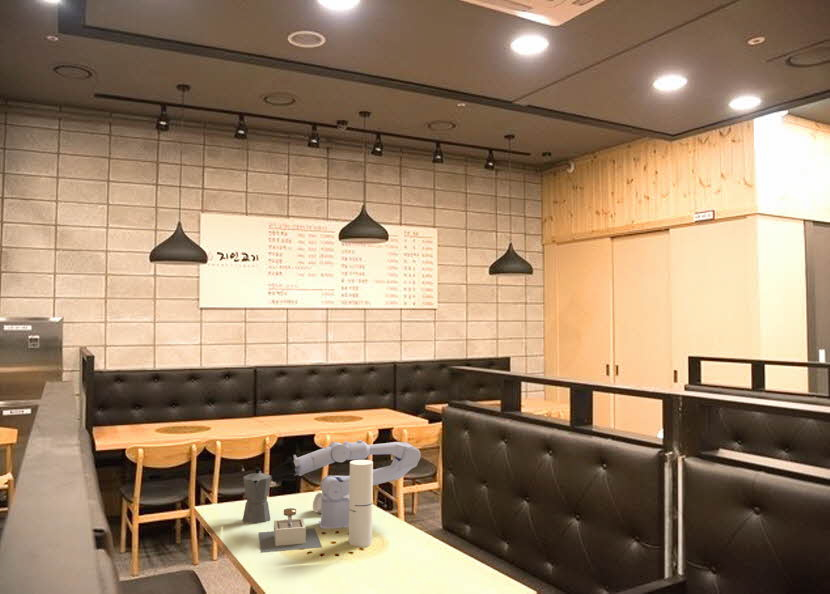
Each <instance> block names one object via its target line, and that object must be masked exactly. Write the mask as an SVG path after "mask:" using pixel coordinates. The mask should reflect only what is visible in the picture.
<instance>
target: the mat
mask: <svg viewBox="0 0 830 594" xmlns="http://www.w3.org/2000/svg"><path fill="white" fill-rule="evenodd" d="M258 539H259V540H258V541H259V546H260V547H259V549H260V554H261V553H270V552H272V553H273V552H283V551H295V550H298V551H299V550H307V549H318V548H323V545H322V543H321V540H320V538H319V536H318V533H317V530H316V528H315V527H312V528H306V543H304V544H292V545H280V546H275V540H274V530H273V531H259V532H258Z"/></svg>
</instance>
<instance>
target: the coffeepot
mask: <svg viewBox="0 0 830 594" xmlns="http://www.w3.org/2000/svg"><path fill="white" fill-rule="evenodd" d="M254 470H255V473H249V474H247V475H246V474H245V476H243V479H242V480H243V486H244V492H245V497H246V502H245V505H244V511H243V516H242V522H243V524H262V523H266V522H269V521H271V514H270V508H269V502H268V496H269V493H270V488H271V482H272V477H271V476H272V475H270V474H268V473H263V472H262V470H261V468H260V467H256V468H255V469H254Z"/></svg>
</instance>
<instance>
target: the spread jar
mask: <svg viewBox="0 0 830 594" xmlns="http://www.w3.org/2000/svg"><path fill="white" fill-rule="evenodd" d="M323 493H324V492H323V491H322V490H321V492H318V493H317V494H316V495H315V497H314V498H313V501H312V510H313V512H314V513H317V514H320V513H321V497H322V496H323ZM343 498H349V495H346V496H343Z"/></svg>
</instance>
